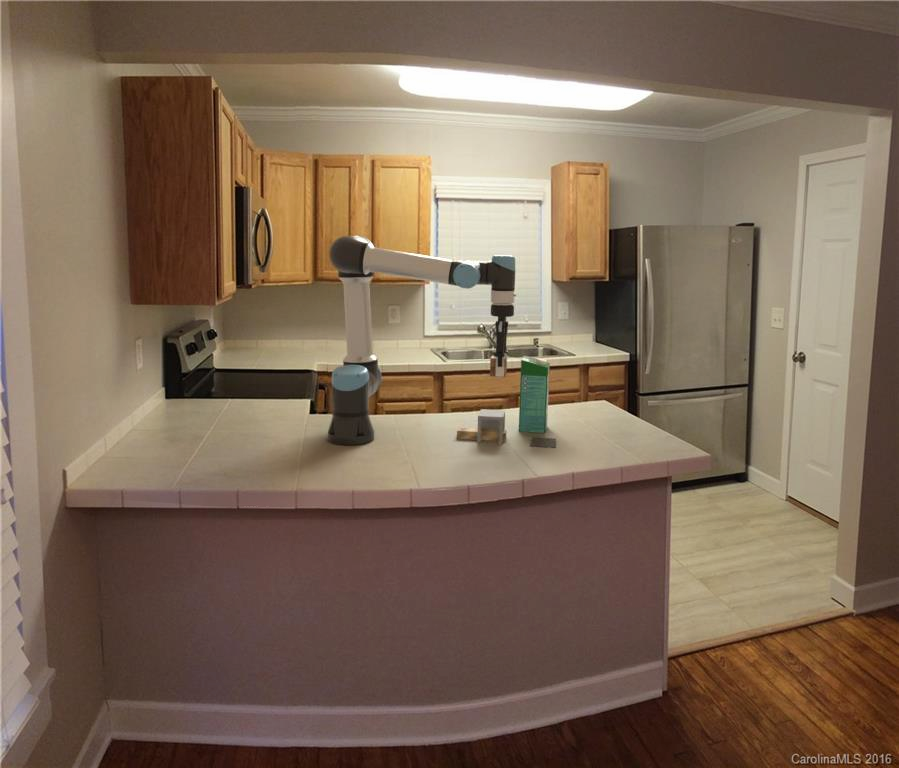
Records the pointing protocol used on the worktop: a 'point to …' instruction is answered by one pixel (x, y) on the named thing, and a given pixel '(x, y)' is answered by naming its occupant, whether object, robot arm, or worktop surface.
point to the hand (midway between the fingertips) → (500, 374)
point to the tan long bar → (485, 434)
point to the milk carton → (534, 395)
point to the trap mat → (543, 442)
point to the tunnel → (491, 422)
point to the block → (493, 366)
